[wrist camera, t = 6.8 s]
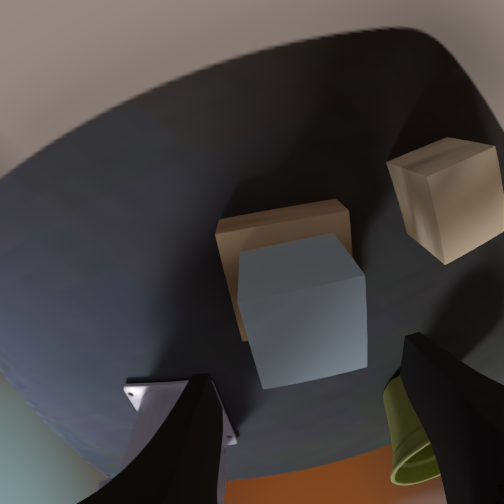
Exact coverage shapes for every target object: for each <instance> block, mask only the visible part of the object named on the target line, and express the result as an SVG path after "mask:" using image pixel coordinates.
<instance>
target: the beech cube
mask: <svg viewBox="0 0 504 504" xmlns="http://www.w3.org/2000/svg"><path fill="white" fill-rule="evenodd" d="M386 164H387V167H388V170H389V173H390V176H391V179H392V182H393V186H394V189H395V192H396V195H397V199H398V202H399V205H400V209H401V212H402V216H403V220H404V223H405V227H406V231H407V234H408V235H410V236H411V237H412V238H413V239H415V240H416V241H417V242H418V243H420V244H421V245H422V246H423V247H424V248H426V249H427V250H428V251H429V252H430V253H432V254H433V255H434V256H435V257H436V258H438V259H439V260H440V261H441V262H442V263H443V264H445V265H446V264H448V263H450V262H452V261H453V260H455V259H457V258H459V257H461V256H462V255H464V254H466V253H468V252H469V251H471V250H473V249H475V248H476V247H478V246H480V245H482V244H483V243H485V242H487V241H488V240H490V239H492V238H493V237H495V236H497V235H498V234H500V233H502V232H503V231H504V194H503V187H502V181H501V175H500V169H499V163H498V158H497V153H496V148H495V146H492V145H487V144H482V143H477V142H472V141H466V140H461V139H455V138H449V137H446V138H444V139H441V140H439V141H436V142H434V143H431V144H429V145H426V146H424V147H422V148H419V149H417V150H414V151H412V152H409V153H407V154H405V155H402V156H400V157H397V158H395V159H393V160H390V161H388V162H386Z"/></svg>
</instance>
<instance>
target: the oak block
mask: <svg viewBox="0 0 504 504" xmlns="http://www.w3.org/2000/svg"><path fill="white" fill-rule="evenodd" d="M333 232H334V234H335V235H336V236H337V238H338V239H339V240H340V242H341V243H342V244H343V246H344V247H345V248H346V250H347V251H348V253H349V254H350V255H351V257H352V258H353V256H352V241H351V228H350V216H349V210H348V209H347V208H346V207H344V206H343V205H342V204H341V203H340V202H339V201H338V200H337V199H332V200H325V201H319V202H313V203H307V204H301V205H296V206H290V207H284V208H278V209H273V210H267V211H262V212H256V213H251V214H245V215H240V216H235V217H230V218H224V219H219V222H218V225H217V229H216V233H215V237H216V241H217V245H218V249H219V253H220V257H221V261H222V265H223V269H224V273H225V277H226V281H227V285H228V289H229V293H230V297H231V301H232V304H233V308H234V312H235V316H236V320H237V323H238V327H239V331H240V335H241V338H242V341H248V338H247V334H246V331H245V327H244V324H243V321H242V317H241V314H240V310H239V307H238V303H237V298H238V276H239V255H240V252H242V251H247V250H251V249H256V248H261V247H266V246H271V245H275V244H280V243H285V242H290V241H295V240H299V239H304V238H309V237H314V236H319V235H323V234H328V233H333Z"/></svg>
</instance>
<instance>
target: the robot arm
mask: <svg viewBox="0 0 504 504" xmlns="http://www.w3.org/2000/svg"><path fill="white" fill-rule="evenodd" d="M400 377H401V380H402V383H403V386H404V388H405V391H406V394H407V397H408V399H409V401H410V403H411V405H412V407H413V409H414V411H415V413H416V415H417V416H418V418H419V420H420V422H421V424H422V426H423V428H424V430H425V433H426V435H427V437H428V439H429V441H430V443H431V446H432V448H433V451H434V454H435V457H436V460H437V464H438V467H439V471H440V474H441V478H442V482H443V486H444V491H445V495H446V500H447V504H504V385H502V384H500V383H498V382H496V381H494V380H492V379H490V378H488V377H486V376H484V375H482V374H481V373H479V372H477V371H476V370H474V369H472V368H471V367H469V366H467V365H466V364H464V363H463V362H461V361H460V360H458V359H457V358H455V357H454V356H452V355H451V354H449V353H448V352H447V351H445V350H444V349H442V348H441V347H440V346H438V345H437V344H435V343H434V342H433V341H431V340H430V339H429V338H427V337H426V336H424V335H423V334H421V333H420V332H418V333H414V334H411V335H407V336H405V340H404V348H403V356H402V363H401V369H400ZM123 389H124V391H125V393H126V395H127V396H128V398H129V399H130V401H131V402H132V404H133V406H134V407H135V409H136V410H137V415H136V419H135V422H134V425H133V428H132V432H131V435H130V438H129V442H128V445H127V449H126V452H125V456H124V459H123V463H122V466H121V470H120V473H119V474H118V475H117V476H116V477H114V478H113V479H110V478H107V479H106V481H105V480H104V481H101V482H99V483H98V486H97V488H96V490H95V493H94V494H92V495H90V496H89V497H87V498H86V499H84V500H82V501H81V502H79V503H77V504H224V501H222V500H223V498H224V495H225V485H226V463H227V445H234V444H236V443H237V437H236V435H235V433H234V430H233V428H232V426H231V424H230V421H229V419H228V416H227V414H226V412H225V409H224V407H223V405H222V402H221V400H220V397H219V395H218V392H217V390H216V387H215V385H214V382H213V381H212V380H211V378H210V375H209V373H206V374H196V375H192V376H191V377H190V379H189V380H185V381H172V382H157V383H135V384H125V385H124V388H123Z"/></svg>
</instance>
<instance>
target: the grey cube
mask: <svg viewBox="0 0 504 504" xmlns="http://www.w3.org/2000/svg"><path fill="white" fill-rule="evenodd" d="M237 303H238V307H239V310H240V314H241V317H242V321H243V324H244V327H245V331H246V334H247V338H248V341H249V344H250V348H251V351H252V355H253V358H254V361H255V365H256V368H257V371H258V374H259V378H260V381H261V384H262V388H263V389H269V388H275V387H280V386H286V385H291V384H296V383H301V382H306V381H311V380H315V379H320V378H324V377H329V376H333V375H337V374H341V373H345V372H349V371H353V370H357V369H361V368H365V367H367V310H366V286H365V275H364V273H363V272H362V270H361V269H360V268H359V266H358V265H357V263H356V262H355V261H354V259H353V258H352V257H351V255H350V254H349V253H348V251H347V250H346V248H345V247H344V246H343V244H342V243H341V242H340V240H339V239H338V238H337V236H336V235H335V234H334V232H333V233H328V234H323V235H319V236H314V237H309V238H304V239H299V240H295V241H290V242H285V243H280V244H275V245H271V246H266V247H261V248H256V249H251V250H247V251H242V252H240V255H239V276H238V298H237Z"/></svg>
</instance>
